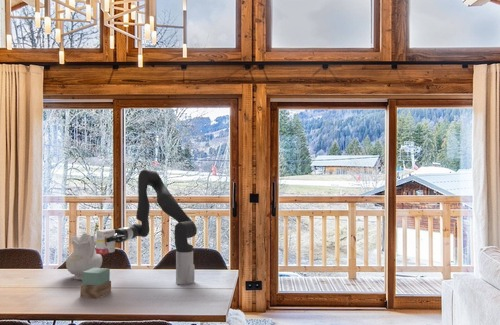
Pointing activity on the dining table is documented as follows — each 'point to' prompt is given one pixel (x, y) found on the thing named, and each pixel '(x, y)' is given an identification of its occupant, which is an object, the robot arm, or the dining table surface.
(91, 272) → the green block
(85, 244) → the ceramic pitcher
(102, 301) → the dining table surface
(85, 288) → the walnut block
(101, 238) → the ink box
